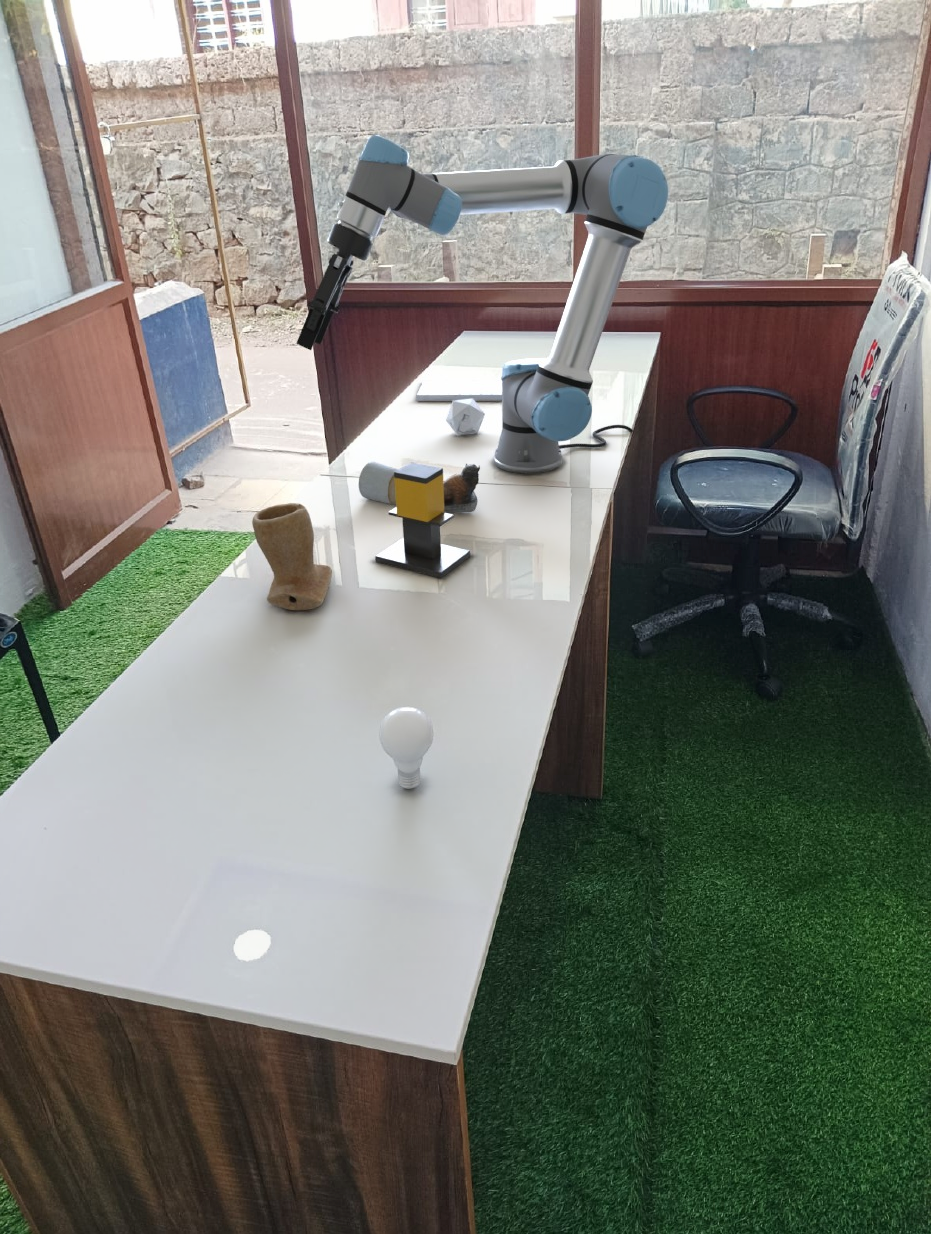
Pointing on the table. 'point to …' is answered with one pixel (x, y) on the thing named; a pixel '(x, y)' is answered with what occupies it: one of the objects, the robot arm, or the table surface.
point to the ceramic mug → (378, 483)
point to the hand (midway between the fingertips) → (308, 344)
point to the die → (465, 417)
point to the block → (419, 491)
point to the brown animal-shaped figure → (461, 490)
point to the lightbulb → (406, 742)
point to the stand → (423, 548)
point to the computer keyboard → (460, 390)
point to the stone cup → (291, 557)
